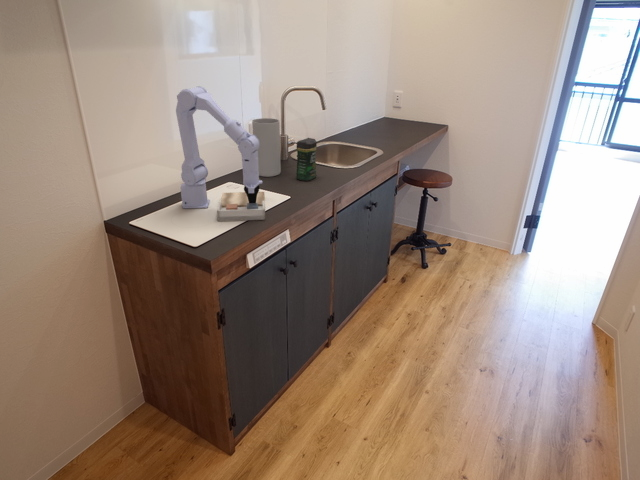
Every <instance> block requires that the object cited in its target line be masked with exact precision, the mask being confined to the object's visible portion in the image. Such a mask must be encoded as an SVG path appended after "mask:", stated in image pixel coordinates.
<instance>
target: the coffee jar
mask: <svg viewBox="0 0 640 480" xmlns="http://www.w3.org/2000/svg"><path fill="white" fill-rule="evenodd" d="M317 148H318V147H317V140H316V139H315V138H312V137H307V138H304V139H299V140H298V141H297V142H296V152H297V153H296V155H297V157H296V158H297V159H296V173H295V174H296V177H295V178H296V180H297V179H298V180H299V181H307V182H308V181H311V180H313V179H316V177H317V164H316V161H317V159H316V154H317V153H316V152H317Z"/></svg>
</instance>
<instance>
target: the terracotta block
mask: <svg viewBox="0 0 640 480" xmlns="http://www.w3.org/2000/svg"><path fill="white" fill-rule="evenodd" d="M226 210H238V204H227V206H226Z"/></svg>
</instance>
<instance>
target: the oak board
mask: <svg viewBox="0 0 640 480" xmlns="http://www.w3.org/2000/svg"><path fill="white" fill-rule="evenodd" d="M262 201H266V200H265V191H259V192H258V194H257V198H256V203H258V206H263V204H262ZM219 202H221V204H222V207H226V206H227V204H238V207H247V203H249V201H248V197H247V194H246V193H245V191H239V192H222V193H221V196H220V201H219Z"/></svg>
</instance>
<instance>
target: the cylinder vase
mask: <svg viewBox="0 0 640 480" xmlns="http://www.w3.org/2000/svg"><path fill="white" fill-rule="evenodd" d="M251 120H252V121H251V125H252V127H251V129H252V135H255V136H257V138H258V139H259V141H260V147H259V149H258V150H256V151H258V167H259V177H264V178H266V177H268V178H269V177H270V178H271V177H276V176H279V175H280V174H281V173H282V170H281V168H282V167H281V164H282V163H281V132H280V131H281V129H280V127H281V125H280V119H277V118H270V117H269V118H268V117H263V118H261V117H260V118H256V119H251Z"/></svg>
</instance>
